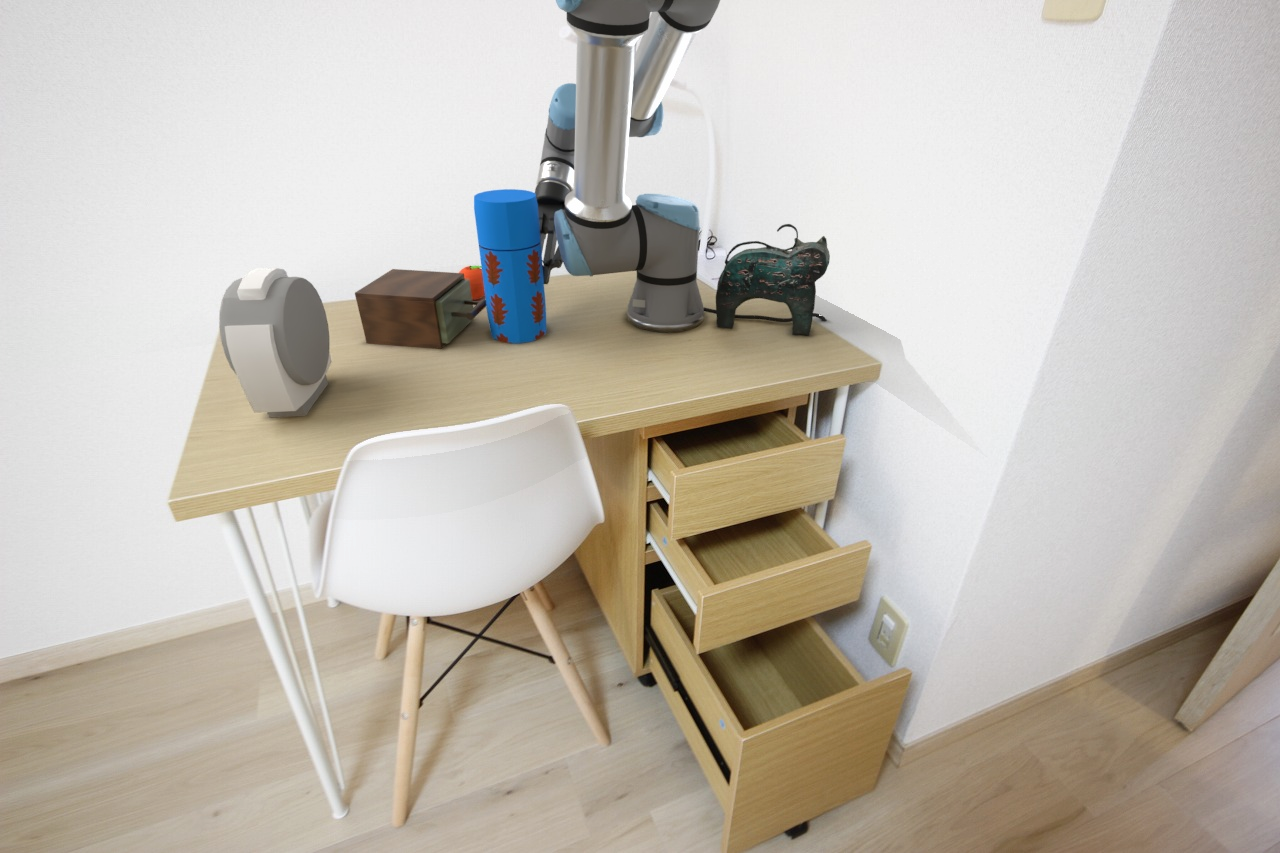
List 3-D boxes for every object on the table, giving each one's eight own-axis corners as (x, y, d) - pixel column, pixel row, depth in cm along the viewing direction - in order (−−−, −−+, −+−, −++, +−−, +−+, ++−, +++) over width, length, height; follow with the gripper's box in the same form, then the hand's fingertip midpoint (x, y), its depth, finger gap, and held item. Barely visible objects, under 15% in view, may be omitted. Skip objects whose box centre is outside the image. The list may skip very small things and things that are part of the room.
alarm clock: (293, 374, 107) (256, 253, 97) (346, 372, 108) (314, 252, 97) (246, 431, 92) (196, 295, 82) (308, 428, 93) (265, 293, 82)
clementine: (489, 290, 142) (485, 258, 139) (500, 299, 137) (496, 267, 134) (454, 296, 139) (449, 264, 135) (463, 306, 134) (459, 273, 130)
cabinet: (470, 320, 127) (464, 273, 122) (441, 349, 116) (432, 298, 111) (402, 315, 130) (392, 268, 125) (366, 343, 118) (354, 292, 113)
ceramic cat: (818, 328, 125) (834, 223, 114) (818, 341, 119) (835, 232, 109) (716, 319, 129) (723, 216, 118) (711, 331, 123) (718, 225, 113)
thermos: (524, 348, 116) (509, 205, 103) (478, 336, 121) (459, 198, 108) (558, 327, 125) (549, 193, 111) (514, 317, 129) (500, 186, 116)
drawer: (495, 319, 126) (490, 280, 122) (470, 345, 115) (464, 303, 111) (410, 313, 128) (403, 275, 124) (378, 338, 118) (369, 297, 114)
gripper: (518, 178, 128) (497, 287, 123) (581, 180, 126) (563, 291, 121) (528, 199, 135) (509, 303, 130) (589, 202, 133) (572, 308, 128)
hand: (535, 297), depth 126 cm, fingers closed
